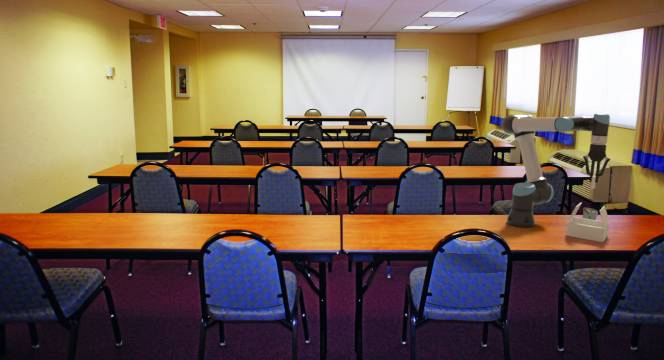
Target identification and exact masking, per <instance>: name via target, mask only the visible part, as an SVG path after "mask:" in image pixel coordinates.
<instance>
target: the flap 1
mask: <svg viewBox="0 0 664 360" xmlns="http://www.w3.org/2000/svg"><path fill="white" fill-rule="evenodd" d="M581 205H582V201H581V202H580V203H578V204H577V205H576V206H575V207H574V209H573V211H572V213H571V214H570V216H569V219H567V222H568V221H570V220H571V219H572V218H573V217H576V214H577V212H578V211H579V209H580V207H581Z"/></svg>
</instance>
